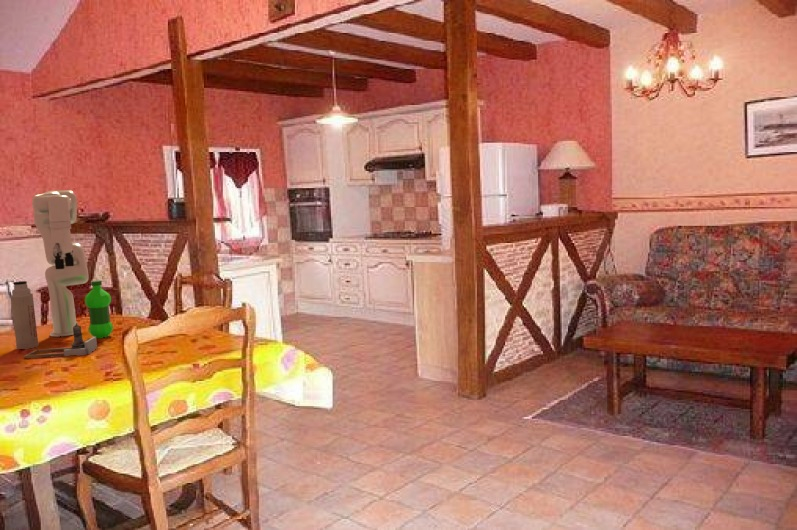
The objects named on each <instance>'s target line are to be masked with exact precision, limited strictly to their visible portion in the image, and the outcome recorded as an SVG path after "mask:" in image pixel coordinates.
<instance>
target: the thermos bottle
mask: <svg viewBox="0 0 797 530" xmlns="http://www.w3.org/2000/svg"><path fill="white" fill-rule="evenodd" d="M11 293H12V295H10V302H11V303H10V304H11V311H12V319H13V328H14V337H15V344H16V346H15V347H16V350H18V349H25V350H30V349H29V348H32V349H35V348H34V347H36V348H38V347H39V341H38V340H39V338H38V330H37V328H38V327H37V323H36V322H37V321H36V320H37V319H36V313H35V304H34V296H33V295H34V294H33V293H32V291H31V289H30V287H29V286H28V283H27V281H26V280H24V281H23V280H22V281H21V280H20V281H14V282H13V289H12V290H11ZM37 346H38V347H37Z"/></svg>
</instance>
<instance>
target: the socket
mask: <svg viewBox="0 0 797 530" xmlns="http://www.w3.org/2000/svg"><path fill="white" fill-rule="evenodd" d="M84 345H85V348H79V349H65V350H64V351H63V353H64V356H63V357H70V356H69V355H77V356H88V355H87V354H89V355H90V354H92V353H93V352H94V351H96V350H97V349H98V343H97V338H96V337H94V336H92V337H91V338H89V339H87V340H85V341H84ZM95 349H96V350H95ZM92 351H93V352H92Z"/></svg>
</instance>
